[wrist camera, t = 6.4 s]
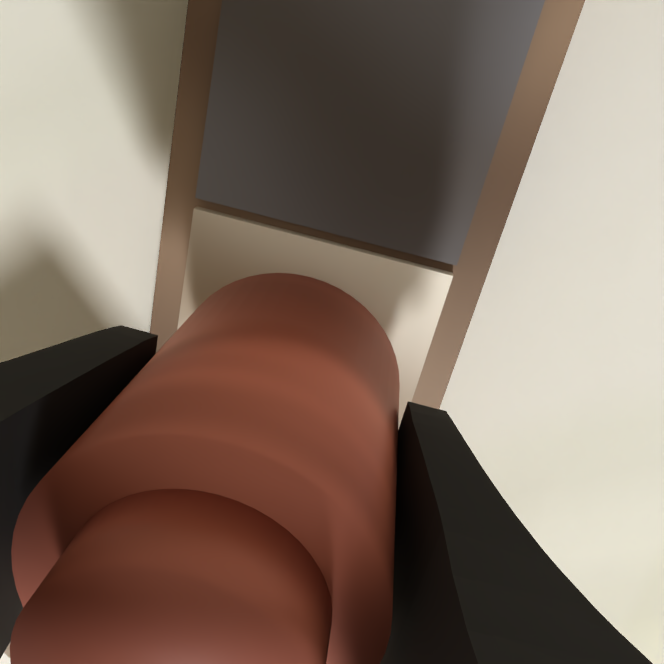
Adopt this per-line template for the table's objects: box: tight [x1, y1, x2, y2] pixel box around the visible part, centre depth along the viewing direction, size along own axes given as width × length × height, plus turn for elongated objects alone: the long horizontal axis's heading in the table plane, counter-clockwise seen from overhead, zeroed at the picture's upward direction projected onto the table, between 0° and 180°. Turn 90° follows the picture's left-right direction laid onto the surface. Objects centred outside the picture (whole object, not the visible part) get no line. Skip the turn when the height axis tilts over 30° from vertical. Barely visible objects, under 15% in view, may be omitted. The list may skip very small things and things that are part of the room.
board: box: [150, 0, 585, 429], centre depth 10 cm, size 15×6×1 cm, turn 167°
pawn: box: [10, 273, 400, 664], centre depth 8 cm, size 4×4×6 cm
